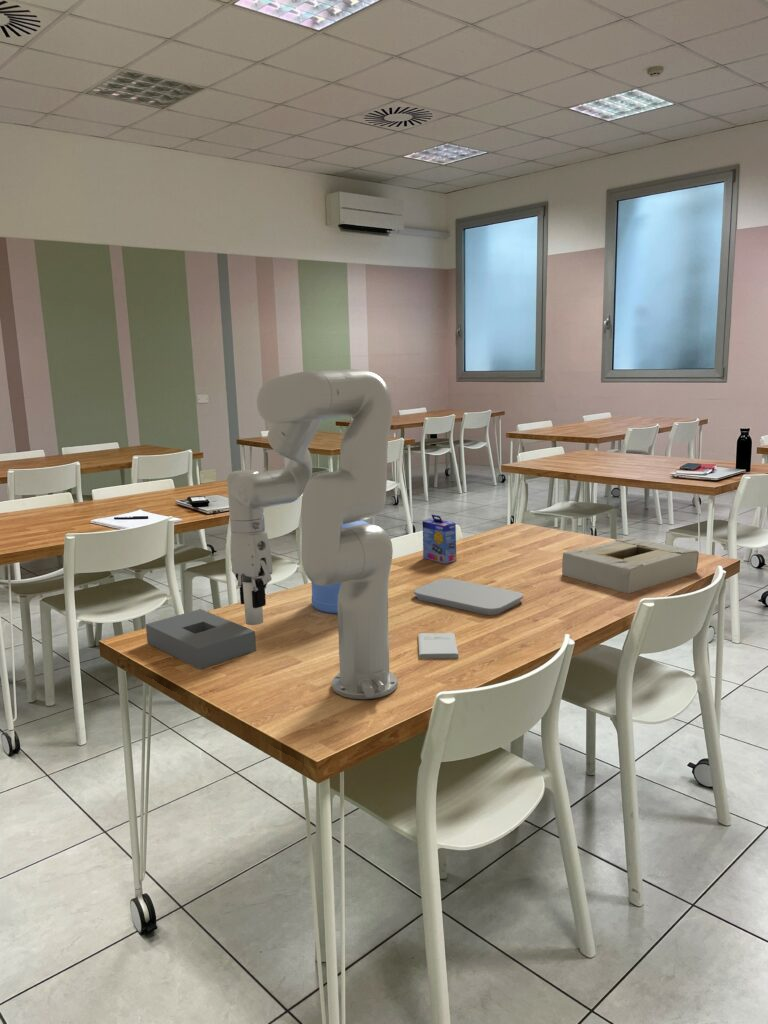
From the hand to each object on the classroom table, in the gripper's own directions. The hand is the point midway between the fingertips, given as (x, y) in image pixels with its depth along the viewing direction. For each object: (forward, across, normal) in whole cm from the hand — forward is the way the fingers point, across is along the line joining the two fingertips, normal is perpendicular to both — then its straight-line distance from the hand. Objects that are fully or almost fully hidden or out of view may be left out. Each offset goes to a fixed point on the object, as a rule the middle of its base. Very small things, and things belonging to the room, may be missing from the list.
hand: (253, 603), depth 172 cm
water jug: (+8, +2, -29) cm, 30 cm away
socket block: (+8, +4, +12) cm, 15 cm away
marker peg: (+4, 0, 0) cm, 4 cm away
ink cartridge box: (+8, +13, -79) cm, 80 cm away
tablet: (+9, -19, -54) cm, 57 cm away
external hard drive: (+9, -35, -23) cm, 43 cm away
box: (+9, -39, -102) cm, 110 cm away
